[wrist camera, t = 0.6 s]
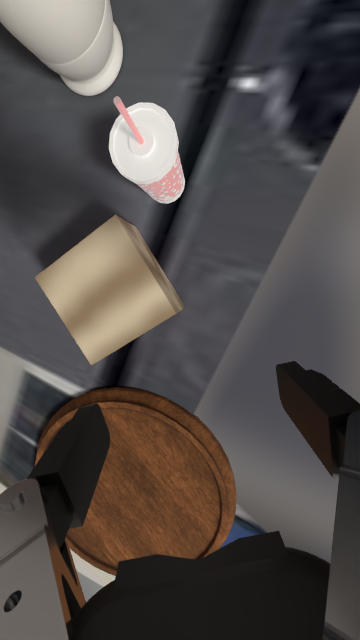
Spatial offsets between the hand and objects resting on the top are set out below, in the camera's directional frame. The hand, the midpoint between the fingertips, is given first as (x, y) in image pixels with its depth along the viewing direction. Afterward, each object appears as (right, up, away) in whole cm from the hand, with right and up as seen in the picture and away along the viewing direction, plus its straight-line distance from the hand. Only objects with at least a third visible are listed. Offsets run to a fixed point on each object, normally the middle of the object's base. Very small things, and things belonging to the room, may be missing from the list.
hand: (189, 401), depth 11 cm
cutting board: (-8, -22, +27) cm, 36 cm away
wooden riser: (-8, +7, +22) cm, 24 cm away
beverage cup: (-2, +20, +19) cm, 28 cm away
